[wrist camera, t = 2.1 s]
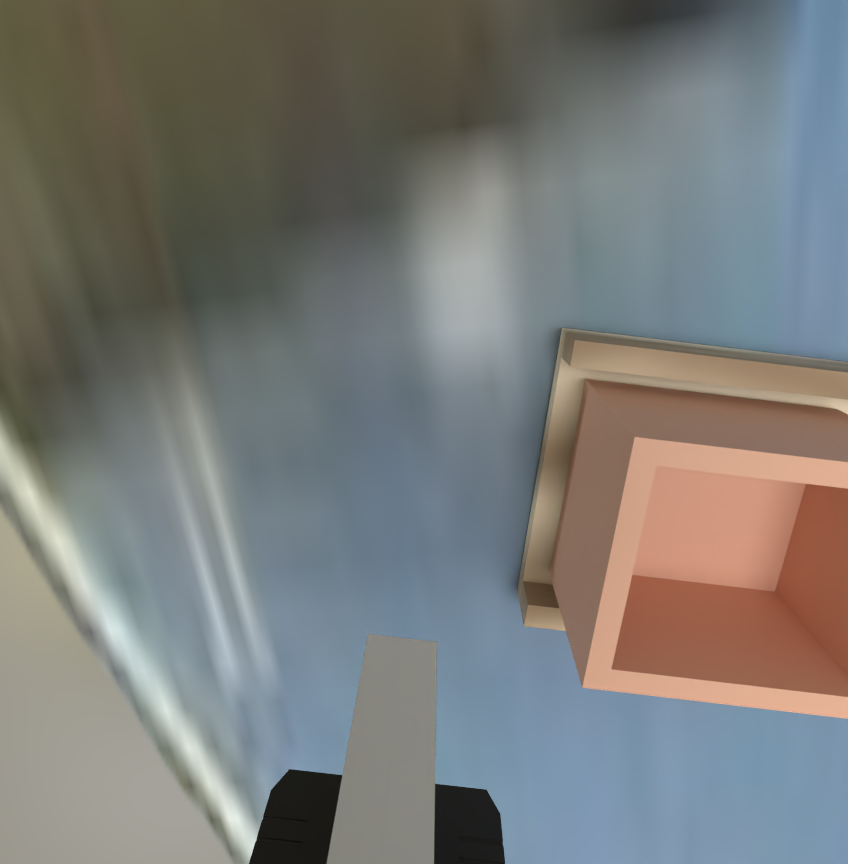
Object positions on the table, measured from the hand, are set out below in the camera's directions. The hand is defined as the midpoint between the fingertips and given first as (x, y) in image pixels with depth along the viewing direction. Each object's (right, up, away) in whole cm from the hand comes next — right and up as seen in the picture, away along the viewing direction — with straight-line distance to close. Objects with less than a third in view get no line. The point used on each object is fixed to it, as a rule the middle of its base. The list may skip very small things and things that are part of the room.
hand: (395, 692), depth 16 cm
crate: (+11, +3, +14) cm, 18 cm away
